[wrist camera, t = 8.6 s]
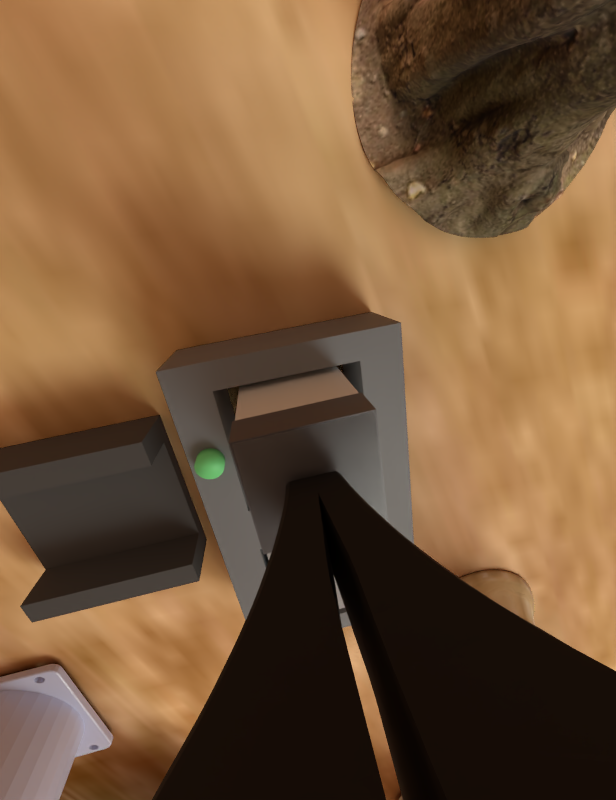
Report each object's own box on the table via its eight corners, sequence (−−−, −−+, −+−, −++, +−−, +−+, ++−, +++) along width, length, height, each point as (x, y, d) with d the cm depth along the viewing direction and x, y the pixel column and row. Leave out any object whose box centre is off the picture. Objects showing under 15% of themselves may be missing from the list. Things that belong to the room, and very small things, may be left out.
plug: (260, 441, 15) (263, 554, 9) (240, 367, 14) (228, 442, 8) (336, 424, 15) (388, 523, 9) (324, 349, 14) (376, 409, 8)
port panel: (256, 593, 18) (256, 659, 15) (176, 350, 13) (152, 375, 10) (393, 558, 19) (421, 615, 16) (371, 311, 14) (405, 324, 11)
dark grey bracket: (62, 573, 16) (32, 622, 14) (-15, 451, 13) (-68, 487, 11) (206, 539, 17) (199, 581, 14) (159, 414, 14) (141, 442, 12)
